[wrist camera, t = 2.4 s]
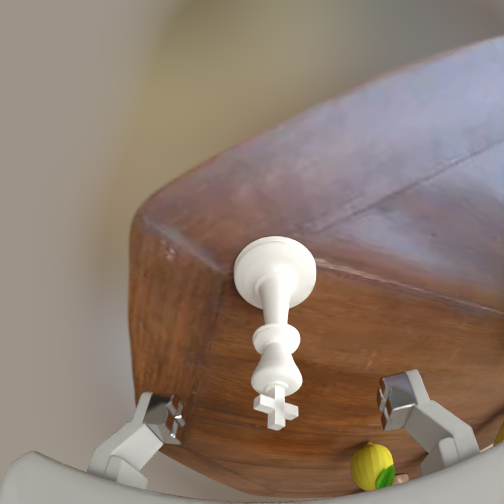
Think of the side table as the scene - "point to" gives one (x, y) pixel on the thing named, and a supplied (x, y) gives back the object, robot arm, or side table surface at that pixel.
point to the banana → (500, 435)
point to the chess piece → (275, 317)
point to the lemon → (372, 467)
